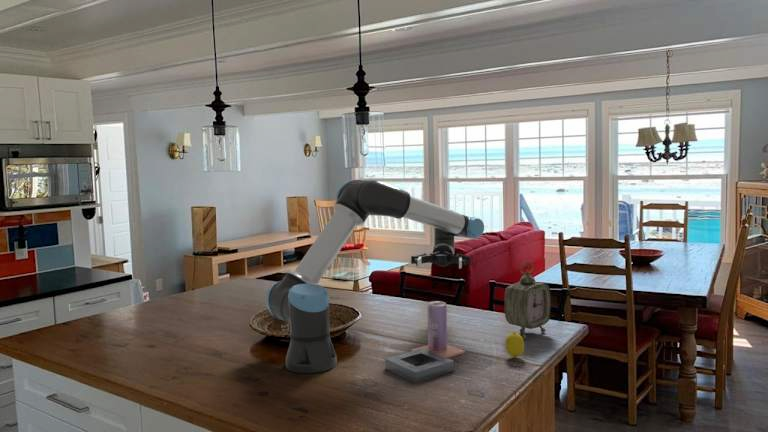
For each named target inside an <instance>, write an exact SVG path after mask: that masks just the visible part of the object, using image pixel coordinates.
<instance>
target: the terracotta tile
mask: <svg viewBox="0 0 768 432" xmlns="http://www.w3.org/2000/svg"><path fill="white" fill-rule="evenodd" d="M422 348H423V349H425V350H428V351H430V350H429V349H428V344H427V345H423V346H419V347H415V348H412V349H410V352H411V351H415V350H418V349H422ZM430 352H431V351H430ZM433 353H434V352H433ZM465 353H466V351H465V350H464V349H460V348H457V347H456V346H452V345H450V344H447V350H446V351H445V352H442V353H436V354H438V355H441V356H443V357H446V358H449V359H451V358H452V357H456V356H459V355H463V354H465Z"/></svg>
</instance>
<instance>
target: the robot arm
mask: <svg viewBox="0 0 768 432" xmlns="http://www.w3.org/2000/svg"><path fill="white" fill-rule="evenodd" d="M333 208H334V213H333V214H332V216H331V217H330V219H329V220H328V222H327V223H326V224H325V226H324V227H323V229H322V230H321V231H320V233H319V234H318V236H317V237H316V238H315V240H314V242H313V243H312V244H311V246H310V247H309V249H308V250H307V252H306V253H305V254H304V256H303V257H302V259H301V261H300V262H299V263H298V265H297V266H296V267H295V269H294V270H291V271H287V272H286V274H285V275H284V276H283V278H282V279H281V280H278V281H276V282H274V283H273V284H272V285H271V286H270V287H269V288H268V290H267V292H266V296H265V304H266V305H265V306H266V308H267V310H268V311H269V312H270V314H271V315H272V316H275V317H276V318H278V319H280V320H283V321H285V322H287V323H289V334H290V342H289V346H288V349H287V353H286V356H285V367H286V368H285V369H287V370H288V371H289V372H293V373H297V374H316V373H321V372H326V371H329V370H331V369H333V368H334V367H336V365H338V364H337V363H338V362H337V360H338V359H337V357H338V356H337V354H336V351H335V349H334V346H333V345H334V344H333V343H332V340H331V334H330V331H331V329H330V328H331V327H330V298H329V294H328V290H327V289H326V288H325V287H324V286H322V285H320V284H319V282H320V281H321V279H322V278H323V277H324V275H325V273H326V271H327V270H328V269H329V267H330V266H331V264H332V263H333V261H334V260H335V259H336V257H337V255H338V254H339V253H340V251H341V250H342V248H343V247H344V245H345V244H346V242H347V240H349V238H350V237H351V234H352V233H353V232H354V230H355V228H356V227H361V226H363V224H364V223H365V222H366V221H367V219H368V218H369V216H375V217H376V216H378V217H379V216H381V217H390V218H394V219H399V220H400V219H402V218H404V219H407V220H411V221H413V222H416V223H418V224H419V223H420V224H423V225H426V226H428V227H433V228H434V249H433V251H432V252H430V253H429V254H428V253H426V252H423V253H420V254H416V255H411V256H410V263H411V265H415V266H416V267H417V268H418V269H420V268H421V266H422V265H423V264H428V263H429V264H435V265H436V266H439V267H446V266H447V267H448V265H450V264H458V269H462V267H463V266H465V265H467V266H471V265H472V262H471V261H472V258H471V257H470V256H467V255H465V254H462V253H461V252H460V253H459V252H458V253H457V254H456V255H455V252H456V249H455V237H459V238H460V237H461V238H466V239H471V240H472V239H473V240H474V239H475V240H476V239H480V238H481V237H482V236H483V234H484V231H485V225H484V221H483V220H482V219H481V218H478V217H476V216H467V215H465V214H463V213H462V214H461V213H459V212H456V211H455V210H452V209H448V208H446V207H442V206H441V205H440V206H439V205H437V204H434V203H433V202H429V201H425V200H423V199H420V198H418V197H415V196H412V195H411V194H410V192H409V191H408V190H405V189H403V188H402V189H401V188H399V187H397V186H395V185H393V184H390V183H387V182H384V181H381V180H378V179H377V180H375V179H373V180H372V179H352V180H348V181H345V182H344V183H342V185H340V187H339V188H338V190H337V192H336V202H335V203H334V205H333Z"/></svg>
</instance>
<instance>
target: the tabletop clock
mask: <svg viewBox="0 0 768 432" xmlns="http://www.w3.org/2000/svg"><path fill="white" fill-rule="evenodd" d="M526 265H531V266H532V268H531V270H528V269H526V270H525V272H524V271H523V268H524V267H525V266H526ZM534 269H535V266H534V264H533V262H530V261H526V262H524V263H523V264H522V265H521V266H520V273H521V274H522V276H521V278H520V279H519V281H518V282H515V283H512V284H510V285H508V286H507V287H506V288H505V291H504V317H505V320H506V322H507V323H508V324H509V325H512V326H517V327H520V329H519V333H520V334H521V337H522V338H523V340H526V339H527V335H526V333H525V332H526V329H529V330H533V329H536V328H540V332H541V333H542V334H543V333H545V332H546V328H545V327H543V326H544V325H546V324H547V323H548V322H549V321H550V316H551V303H552V302H551V300H552V299H551V290H550V289H551V288H550V286H549V284H547V283H541V282H536V279H535V277H533V276H532V275H530V274H532V273H533V272H534Z"/></svg>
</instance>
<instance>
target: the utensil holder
mask: <svg viewBox="0 0 768 432" xmlns="http://www.w3.org/2000/svg"><path fill="white" fill-rule="evenodd" d="M271 320H272V322H271V331H272V330H279V331H286V330H289V331H290V324H289V323H287V322H285V321H283V320H280V319H278V318H276V317H275V316H274V315H272V318H271Z"/></svg>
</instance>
